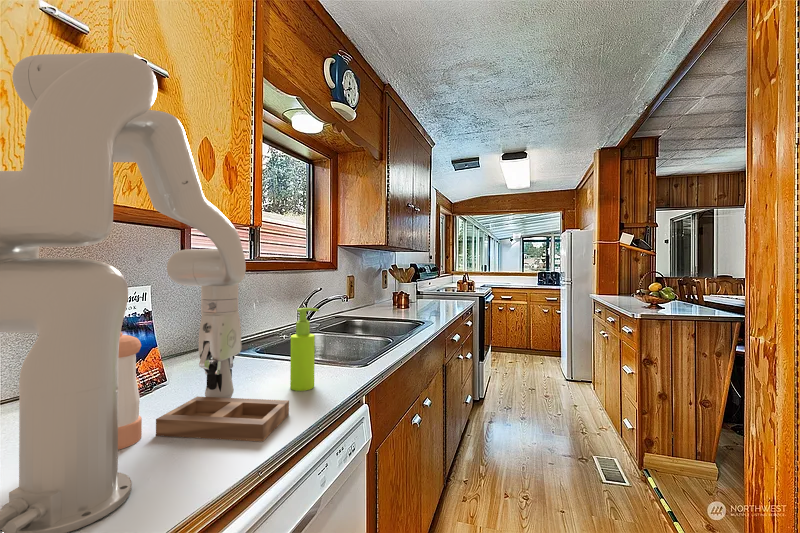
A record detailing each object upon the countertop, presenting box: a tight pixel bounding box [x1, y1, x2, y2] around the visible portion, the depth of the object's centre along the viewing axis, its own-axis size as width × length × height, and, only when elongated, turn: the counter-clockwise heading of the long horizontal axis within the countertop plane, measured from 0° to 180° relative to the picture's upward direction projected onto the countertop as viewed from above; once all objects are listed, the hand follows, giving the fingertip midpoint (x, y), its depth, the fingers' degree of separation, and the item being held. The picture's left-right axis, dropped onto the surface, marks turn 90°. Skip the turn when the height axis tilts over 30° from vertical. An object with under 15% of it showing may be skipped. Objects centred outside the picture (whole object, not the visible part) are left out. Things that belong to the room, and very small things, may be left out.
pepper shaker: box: [118, 331, 143, 451], centre depth 67 cm, size 7×7×19 cm
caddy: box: [155, 396, 290, 443], centre depth 74 cm, size 12×20×3 cm, turn 85°
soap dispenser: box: [289, 307, 320, 392], centre depth 98 cm, size 6×7×20 cm
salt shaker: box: [204, 357, 234, 398], centre depth 86 cm, size 6×6×13 cm
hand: (219, 388), depth 86 cm, fingers open, 3 cm apart
